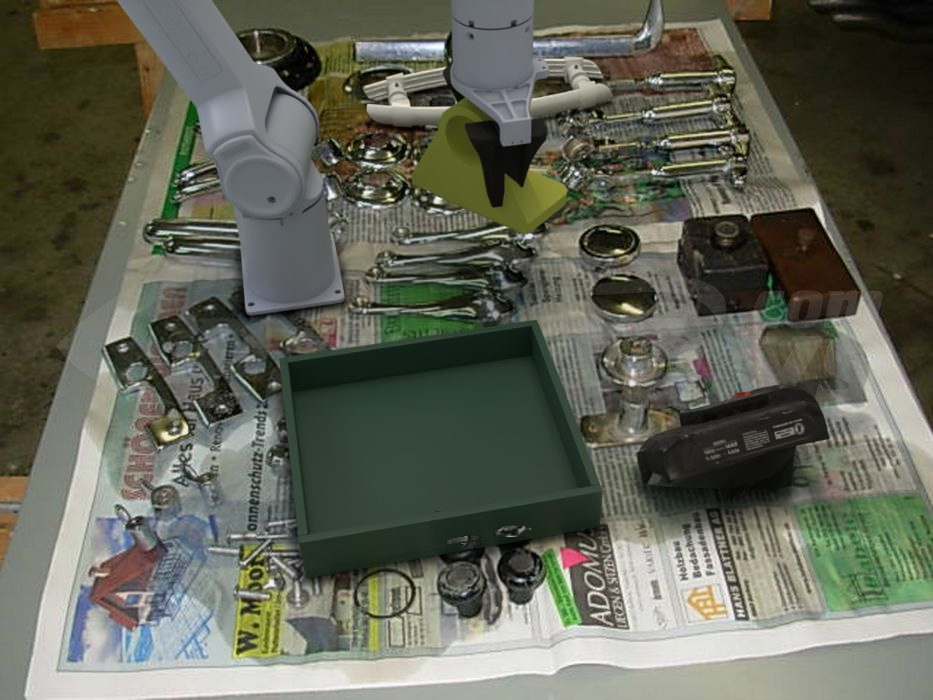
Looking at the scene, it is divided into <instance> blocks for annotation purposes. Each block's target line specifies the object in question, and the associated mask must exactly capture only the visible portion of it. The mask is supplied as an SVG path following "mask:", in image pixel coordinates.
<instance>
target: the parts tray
mask: <svg viewBox="0 0 933 700" xmlns="http://www.w3.org/2000/svg"><path fill="white" fill-rule="evenodd" d="M278 360H279V369H280V370H279V371H280V380H281V389H282V398H283V408H284V418H285V425H286V426H285V427H286V434H287V435H286V436H287V445H288V454H289V463H290V464H289V465H290V473H291V481H292V490H293V492H292V493H293V500H294V511H295V519H296V528H297V536H298V546H299V549H300V554H301V559H302V564H303V570H304V576H305V579H311V578H317V577H322V576H328V575H334V574H340V573H345V572H351V571H358V570H362V569H369V568H374V567H380V566H385V565H391V564H396V563H397V564H398V563H401V562H409V561H414V560H420V559H425V558H432V557H436V556H437V557H438V556H442V555H448V554H453V553H459V552H464V551H465V552H466V551H467V550H463V549H464V548H460V547H465V546H463V545H464V544H461V543H467V542H476V543H475V544H476V545H472V546H475V547H473V548H475V549H474V550H476V549H477V550H478V549H482V548H483V549H484V548H487V547H494V546H499V545H505V544H511V543H517V542H522V541H528V540H533V539H539V538H544V537H551V536H556V535H562V534H567V533H573V532H580V531H584V530H585V531H586V530H590V529H596V528H600V527H601V518H602V517H601V515H602V506H603V505H602V503H603V493H604V490H603V488H602V485H601V483H600V479H599V477H598V475H597V472H596V470H595V466H594V464H593V462H592V460H591V457H590V454H589V451H588V449H587V446H586V443H585V441H584V438H583V436H582V433H581V430H580V427H579V425H578V422H577V420H576V417H575V414H574V412H573V410H572V406H571V404H570V401H569V398H568V396H567V394H566V391H565V388H564V386H563V383H562V381H561V378H560V376H559V372H558V369H557V368H556V365H555V362H554V360H553V357H552V354H551V351H550V349H549V347H548V344H547V342H546V339H545V336H544V334H543V331H542V329H541V326H540V323H539V321H538V319H531V320H524V321H518V322H511V323H505V324H497V325H491V326H483V327H478V328H470V329H465V330H458V331H457V330H456V331H451V332H445V333H438V334H432V335H425V336H424V335H423V336H418V337H410V338H404V339H397V340H392V341H384V342H377V343H372V344H371V343H370V344H365V345H357V346H350V347H344V348H338V349H330V350H324V351H317V352H311V353H305V354H297V355H291V356H284V357H279V359H278ZM435 511H440V512H435ZM513 525H514V526H517V525H519V526H528V527H529V528H531V529H532V530H526V531H522V532H523V533H520V534H521V535H518V537H505V535H498V536H494V533H495V532H497V530H499V529H501V528H502V527H505V526H513ZM468 535H476V536H479V537H481V538H480V539H475V540H473V541H466V542H465V541H463V542H458V543H452V544H446V545H442V544H443V543H445V542H446V541H448V540H450V539H453V538H458V537H464V536H468ZM467 544H468V543H467Z"/></svg>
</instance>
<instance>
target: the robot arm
mask: <svg viewBox="0 0 933 700" xmlns="http://www.w3.org/2000/svg"><path fill="white" fill-rule="evenodd" d="M116 2H117V3H118V4H119V6H120V7H121V8H122V9H123V11H124V13H125V14H126V15H127V17H128V18H129V19H130V20H131V22H132V23H133V25H134V26H135V27H136V28H137V30H138V31H139V33H140V34H141V35H142V36H143V38H144V39H145V41H146V42H147V44H148V45H149V46H150V47H151V49H152V50H153V51H154V54H156V56H157V57H158V59H159V60H160V62H161V63H162V64H163V65H164V66H165V68H166V69H167V71H168V72H169V74H171V76H172V77H173V78H174V80H175V81H176V83H177V84H178V85H179V86H180V88H181V89H182V90H183V92H184V94H185V95H186V96H187V98H188V99H189V100H190V101H191V103H192V104H193V106H194V107H195V108H196V111H197V117H198V122H199V126H200V132H201V139H202V142H203V143H202V144H203V147H204V151H205V153H206V155H207V156H208V157H209V158H210V160H211V162H213V164H214V166H215V168H216V170H217V173H218V178H219V185H220V189H221V192H222V193H223V195H224V197H225V199H226V200H227V201H228V202H229V203H230V204H231V205H232V207H233V209H232V210H233V213H234V214H233V215H234V218H235V223H236V228H237V233H238V238H239V243H240V256H241V268H242V283H243V294H244V308H245V313H246V315H248V316H258V315H265V314H271V313H279V312H285V311H286V312H287V311H292V310H300V309H307V308H314V307H320V306H327V305H335V304H341V303H343V302H344V301H345V299H346V295H345V291H344V284H343V279H342V273H341V268H340V263H339V257H338V253H337V252H338V251H337V248H336V242H335V236H334V233H332V232H331V230H330V223H329V222H330V221H329V213H328V206H327V201H326V199H327V198H326V193H325V186H324V185H325V183H324V178H323V176H322V174H321V172H320V171H319V169H318V168H317V166H316V165H315V163H314V160H313V159H312V156H313V155H312V154H313V151H314V146H315V145H316V144H315V143H316V142H317V139H318V137H319V133H320V120H319V116H318V113H317V111H316V109H315V108H314V106H313V105H312V103H311V102H310V101H309V100H308V98H306V97H304V96H303V95H302V94H300V93H298V92H297V91H295V90H293V89H291V87H289V86H288V85H287V84H286V83H285V82H284V81H283V80H282V79H281V77H280V76H279V74H278V73H277V71H276V70H275V69H274V68H273V67H271V66H268V65H264V64H261V63H258V62H256V61H254V60H253V58H252V57H251V56H250V54H249V53H248V52H247V50H246V48H245V47H244V45H243V44H242V42H241V41H240V39H239V38H238V37H237V35H236V34H235V32H234V30H233V29H232V28H231V26H230V25H229V23H228V22H227V20H226V19H225V17H224V16H223V15H222V13H221V11H220V10H219V8H218V7H217V6H216V5H215V3H214V1H213V0H116ZM450 14H451V15H450V18H451V20H450V21H451V22H450V23H451V45H452V47H451V48H452V49H451V51H452V64H451V65H448V66H445V67H446V68H445V69H444V70H443V76H444V78H445V81H446V83H447V85H446V86H448V88H449V89H450V91H451V93H452V95H453V96H454V99H455V101H456V103H458V102H459V101H461V100H462V99H464V98H465V97H466V98H467V99H468V100H470V101H471V102H472V103H473V104H475V105H476V106H477V107H479V108H480V109H481V110H482V111H484V112H485V113H486V114H488V115H489V116H490V117H491V118H493V121H491V120H488V121H481V122H473V123H466V124H465V130H466V132H467V135H468V137H469V140H470V142H471V143H472V145H473V147H474V149H475V150H476V152H477V153H478V155H479V158H480V162H481V166H482V170H483V176H484V182H485V187H486V192H487V195H488V198H489V201H490V204H491V206H492V207H493V208H494V207H502V206H503V198H504V193H505V174H506V175H508V176H509V177H510V178H511V179H513V180H514V181H515V182H516V183H518V185H519V186H520V187H522V188H523V187H524V183H525V179H526V176H527V173H528V170H530V167H531V165H532V163H533V160H534V158H535V156H536V154H537V153H538V152H539V150H540V148H541V147H542V146H543V144H544V143H545V142H546V141H547V138H548V134H549V133H548V131H549V130H548V126H547V124H546V122H545V120H544V119H543V118H535V119H532V117H531V116H530V114H529V109H530V104H531V99H532V98H533V94H534V89H535V84H536V82H537V81H538V80H544V79H548V76H549V66H548V65H547V63H546V61H545V60H544V59H545V58H543V57H534V27H535V26H534V25H535V24H534V23H535V0H450Z"/></svg>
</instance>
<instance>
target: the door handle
mask: <svg viewBox="0 0 933 700" xmlns="http://www.w3.org/2000/svg"><path fill="white" fill-rule="evenodd" d="M543 59H544V60H545V61H546V63H547V65H548V66H549V76H548V77H549V78H557V77H558V78H563V80H564V82H565V84H566V85H567V84H569V85H570V87H571V89H572V90H568V91H564V92H559V93H554V94H550V95H545V96H540V97H532V99H531V104H530V109H529V114H530V116H531V118H536V117H542V116H547V115H553V114H556V113H562V112H567V111H571V110H575V109H577V112H578V111H579V112H580V111H583V110H585V109H589V108H593V107H595V106H596V104H597V103H600V102H603V101H607V100H610V99H612V98H614V95H613V93H612V91H611V89H610V87H608V85H606V84H603V83H596V81H595V80H590V79H598V80H599V79H600V80H601V79H602V80H603V79H604V76H603V74H602V71H601V69H600V68H599V66H598V65H597V63H595V62H594V61H593V60H591V59H585V58H584V57H582V56H563V58H543ZM446 67H447V66H443V67H438V68H433V69H427V70H421V71H417V72H413V73H408V74H404V72H399V73H396V74H393V75H389V76H386V77H385V79H383V80H380V81H377V82H373V83H371V84H367V85H363V86H362V90H363V92H364V95H365V96H366V97H367V98H368V99H370V100H373V101H376V102H377V101H378V102H379V101H383V100H386V99H387V101H388V103H389V105H387V104H375V103H374V104H373V103H367V105H366V113H367V114H368V116H369V118H371V119H372V120H373V121H375V122H376V123H379V124H383V125H392V126H393V127H395V128H396V127H399V128H400V127H401V128H413V126H433V127H434V126H439V120H440V117H441V115H442V114H443V112H444V111H445V110H447V109H448V108H450V107H451V106H449V105H447V106H411V102H410V99H409V97H408V94H409V93H413V92H418V91H423V90H427V89H433V88H439V87H443V86H444V87H445V86H448V85H447V83H446V81H445V78H444V76H443V70H444V69H445V68H446ZM548 77H547V78H548Z"/></svg>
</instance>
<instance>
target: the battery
mask: <svg viewBox="0 0 933 700" xmlns="http://www.w3.org/2000/svg"><path fill="white" fill-rule="evenodd" d="M678 413H679V423H680V426H677V427H673V428H669V429H666V430H663V431H659V432H657V433H655V434H653V435H651V436H650V437H647V439H646V440H645V441H643V443H642V445H641V446H640V448H639V450H638V451H637V452H636V459H637V464H638V468H639V473H640V476H641V480H642V484H643V485H647V486H649V485H650V486H659V487H669V488H688V489H689V488H692V489H712V490H713V489H715V490H720V492H721V494H722V495H723V497H724V498H725V500H726V501H730V500H731V501H732V499H735V498H740V497H742V496H745V495H751V494H755V493H763V492H766V491H768V492H771V493H776V492H780V490H783V489H788V488H793V481H794V479H793V478H794V468H795V460H796V459H795V458H796V451H797V447H798V446H803V445H808V444H813V443H818V442H823V441H826V440H827V441H828V440H830V433H829V430H828V424H827V421H826V418H825V415H824V413H823V410H822V408H821V406H820V404H819V403H818V401H817V399H816V398H815V396H814V395H813V394H812V393H811V392H809V391H807V390H806V389H804V388H802V387H800V386H797V385H790V384H783V383H780V384H773V385H769V386H762V387H757V388H753V389H752V390H749V391H743V390H741V391H738V392H736V393H735V394H734V395H733V396H732V397H730V398H728V399H724V400H721V401H718V402H713V403H710V404H707V405H703V406H699V407H696V408H689V409H685V410H683V411H681V412H678Z"/></svg>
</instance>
